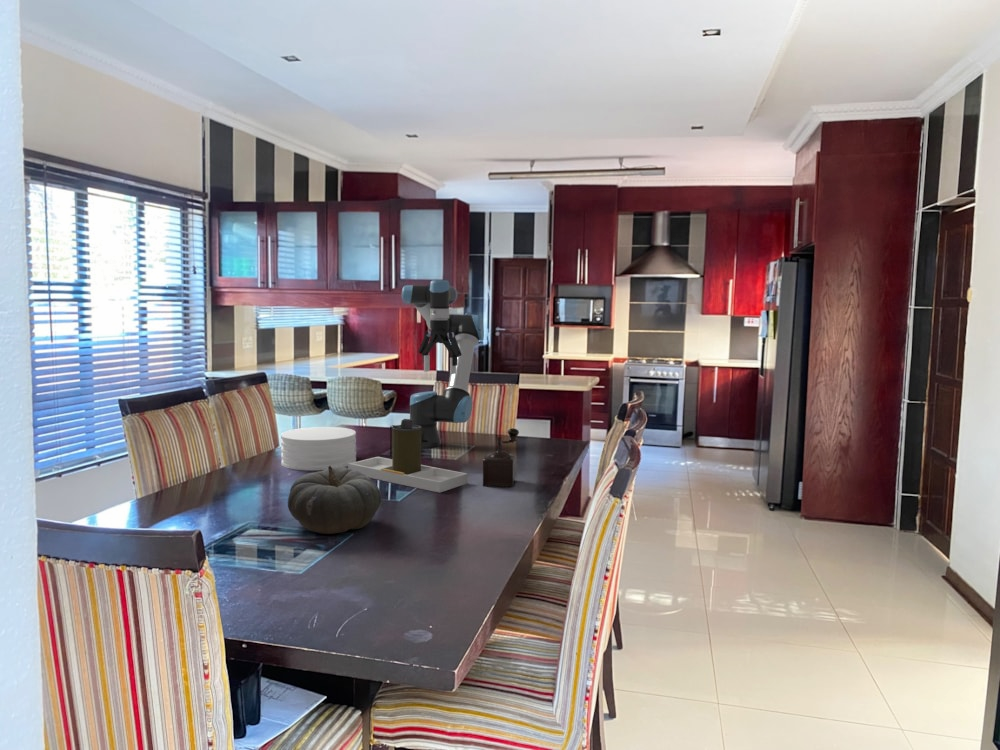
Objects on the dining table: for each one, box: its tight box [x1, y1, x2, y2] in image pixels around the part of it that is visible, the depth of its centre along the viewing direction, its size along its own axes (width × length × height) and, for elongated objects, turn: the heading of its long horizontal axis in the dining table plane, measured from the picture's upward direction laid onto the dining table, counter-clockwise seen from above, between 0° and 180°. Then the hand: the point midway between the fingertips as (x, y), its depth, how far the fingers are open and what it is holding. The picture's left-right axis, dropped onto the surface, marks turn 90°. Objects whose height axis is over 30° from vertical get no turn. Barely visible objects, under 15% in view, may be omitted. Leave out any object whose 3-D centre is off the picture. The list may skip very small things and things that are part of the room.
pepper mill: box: [482, 427, 520, 488], centre depth 243 cm, size 16×11×18 cm
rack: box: [347, 456, 469, 493], centre depth 246 cm, size 43×15×4 cm, turn 55°
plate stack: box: [280, 426, 357, 471], centre depth 269 cm, size 28×28×12 cm
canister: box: [389, 418, 422, 475], centre depth 245 cm, size 11×10×20 cm
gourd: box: [287, 466, 382, 535], centre depth 192 cm, size 25×25×17 cm
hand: (439, 372), depth 278 cm, fingers open, 13 cm apart
